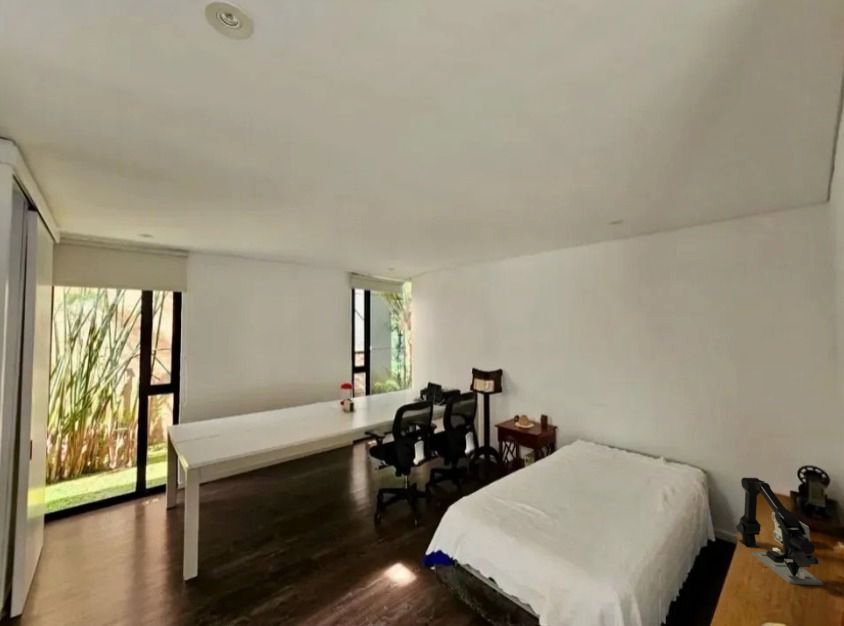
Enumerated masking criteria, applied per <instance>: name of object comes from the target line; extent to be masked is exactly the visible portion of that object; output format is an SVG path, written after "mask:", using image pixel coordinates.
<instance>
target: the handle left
mask: <svg viewBox="0 0 844 626" xmlns="http://www.w3.org/2000/svg"><path fill="white" fill-rule="evenodd" d="M772 551H776V552H778V553H779V554H781V553H782V552H781V549H779V548H778V547H772Z"/></svg>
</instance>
